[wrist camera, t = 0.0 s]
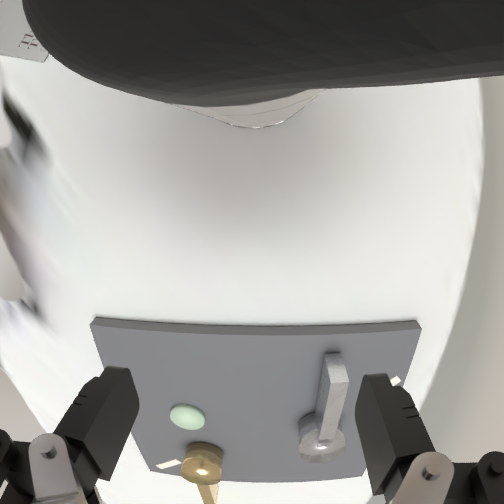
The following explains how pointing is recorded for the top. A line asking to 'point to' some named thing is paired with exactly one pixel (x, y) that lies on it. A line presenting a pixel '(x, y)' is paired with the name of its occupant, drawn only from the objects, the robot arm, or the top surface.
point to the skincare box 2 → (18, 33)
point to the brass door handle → (203, 469)
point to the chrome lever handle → (325, 415)
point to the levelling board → (247, 389)
